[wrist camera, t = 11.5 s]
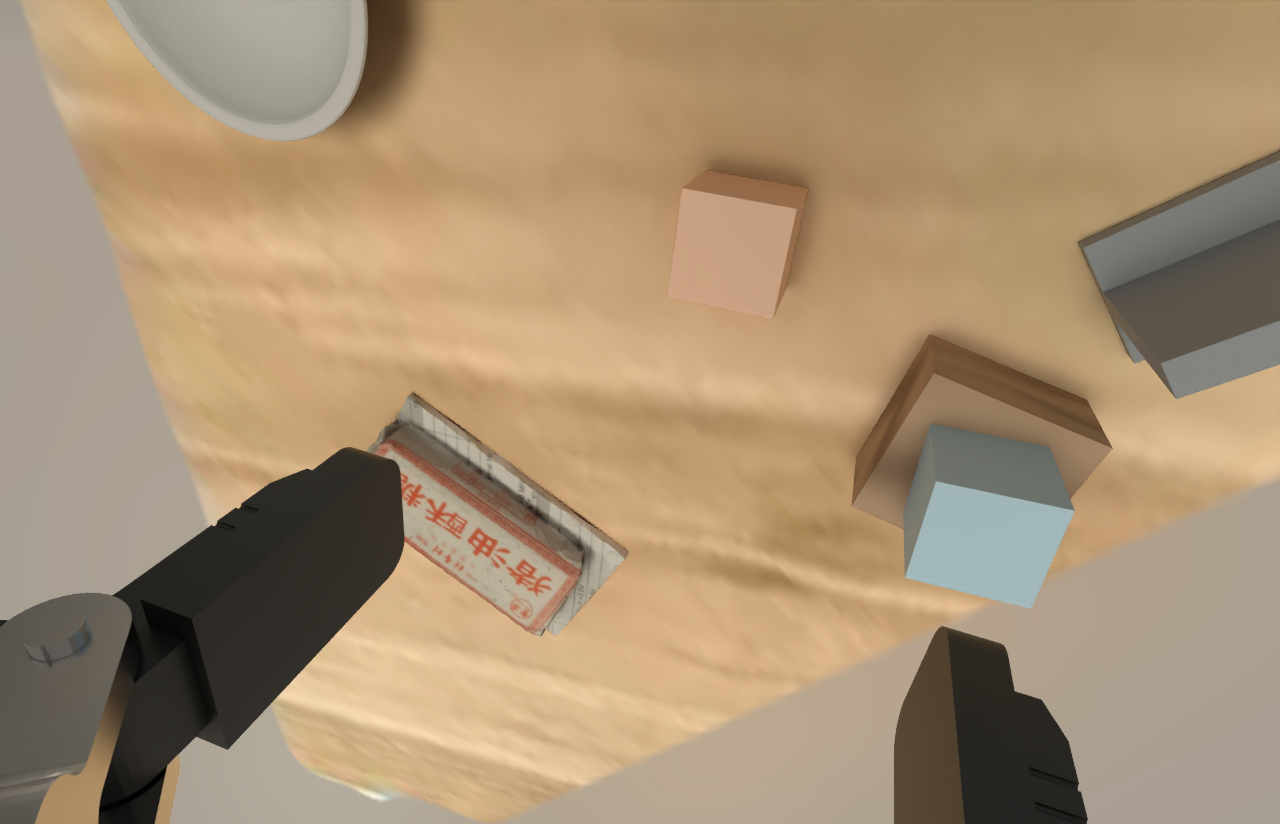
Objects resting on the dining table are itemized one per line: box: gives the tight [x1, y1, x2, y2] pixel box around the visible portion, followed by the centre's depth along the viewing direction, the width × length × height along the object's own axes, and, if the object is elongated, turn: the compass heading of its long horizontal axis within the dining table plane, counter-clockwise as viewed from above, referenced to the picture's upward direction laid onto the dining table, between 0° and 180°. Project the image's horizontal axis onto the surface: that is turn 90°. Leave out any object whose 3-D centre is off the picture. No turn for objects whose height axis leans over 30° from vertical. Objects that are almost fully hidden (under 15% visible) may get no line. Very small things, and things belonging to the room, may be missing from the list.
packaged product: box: [367, 394, 628, 636], centre depth 48 cm, size 18×5×10 cm
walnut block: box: [852, 335, 1113, 529], centre depth 35 cm, size 8×8×5 cm
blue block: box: [903, 424, 1075, 608], centre depth 31 cm, size 5×5×5 cm
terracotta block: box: [667, 170, 809, 320], centre depth 34 cm, size 5×5×5 cm
